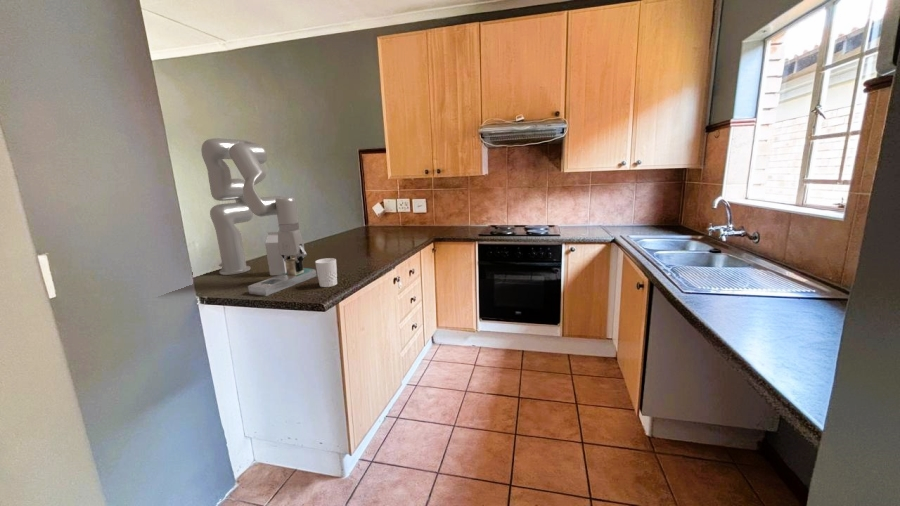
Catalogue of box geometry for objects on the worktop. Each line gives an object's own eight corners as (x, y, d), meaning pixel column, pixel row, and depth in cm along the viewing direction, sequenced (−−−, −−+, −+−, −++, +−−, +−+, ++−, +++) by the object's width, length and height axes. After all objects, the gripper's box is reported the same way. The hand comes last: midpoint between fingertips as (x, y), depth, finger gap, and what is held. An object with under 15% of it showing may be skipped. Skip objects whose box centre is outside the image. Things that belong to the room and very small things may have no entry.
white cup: (342, 282, 148) (339, 258, 145) (331, 288, 140) (328, 263, 138) (325, 281, 150) (322, 257, 147) (313, 287, 142) (310, 262, 140)
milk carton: (285, 275, 160) (279, 233, 156) (270, 275, 161) (263, 233, 156) (292, 271, 167) (287, 230, 163) (277, 271, 168) (271, 230, 163)
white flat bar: (266, 295, 134) (264, 287, 133) (249, 293, 138) (247, 285, 137) (316, 276, 157) (315, 269, 157) (300, 274, 161) (300, 267, 160)
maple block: (287, 279, 152) (285, 260, 150) (296, 275, 156) (293, 257, 154) (295, 280, 150) (293, 261, 148) (304, 276, 154) (301, 258, 152)
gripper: (266, 228, 148) (272, 271, 152) (297, 229, 141) (303, 274, 145) (281, 225, 154) (287, 266, 159) (311, 226, 148) (317, 269, 152)
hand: (295, 270), depth 152 cm, fingers closed on maple block, 4 cm apart
